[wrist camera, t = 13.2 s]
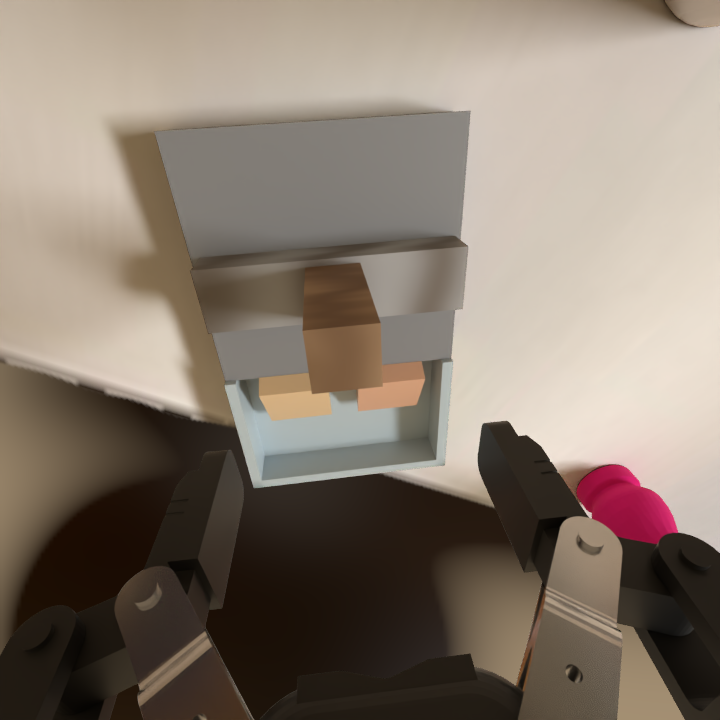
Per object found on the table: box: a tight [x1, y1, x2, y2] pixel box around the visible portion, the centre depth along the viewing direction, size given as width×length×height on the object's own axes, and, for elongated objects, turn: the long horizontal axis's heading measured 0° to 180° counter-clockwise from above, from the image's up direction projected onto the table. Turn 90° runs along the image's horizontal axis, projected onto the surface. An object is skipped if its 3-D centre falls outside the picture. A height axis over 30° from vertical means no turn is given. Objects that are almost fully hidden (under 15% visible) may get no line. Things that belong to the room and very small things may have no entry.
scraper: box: [190, 236, 468, 394], centre depth 21 cm, size 16×4×10 cm, turn 93°
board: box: [154, 111, 470, 382], centre depth 27 cm, size 17×16×3 cm
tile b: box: [259, 373, 332, 421], centre depth 31 cm, size 5×5×2 cm
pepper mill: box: [577, 465, 678, 544], centre depth 36 cm, size 7×7×20 cm
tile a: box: [356, 361, 425, 411], centre depth 32 cm, size 5×5×2 cm
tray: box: [224, 358, 453, 488], centre depth 34 cm, size 17×11×4 cm, turn 93°
